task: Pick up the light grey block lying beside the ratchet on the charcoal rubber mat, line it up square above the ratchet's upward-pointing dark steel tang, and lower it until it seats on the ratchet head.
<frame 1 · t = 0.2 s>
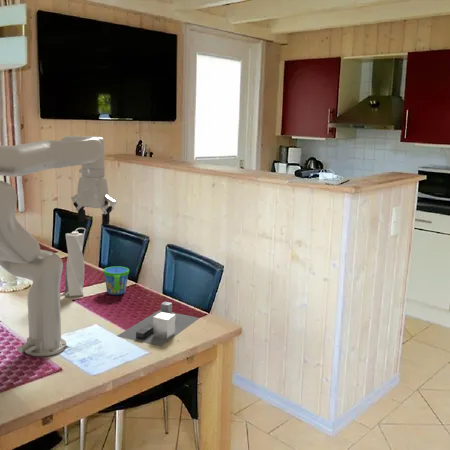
hand: (93, 223, 177), 36 cm above the table, tool pointing down, fingers open, 9 cm apart
tool mat: (160, 328, 181), on the table
skyscraper: (75, 294, 213), on the table
ratchet: (166, 321, 186), point 1 cm above the table, touching tool mat
snack cup: (116, 293, 217), on the table
light grey block: (164, 335, 174), point 1 cm above the table, touching tool mat
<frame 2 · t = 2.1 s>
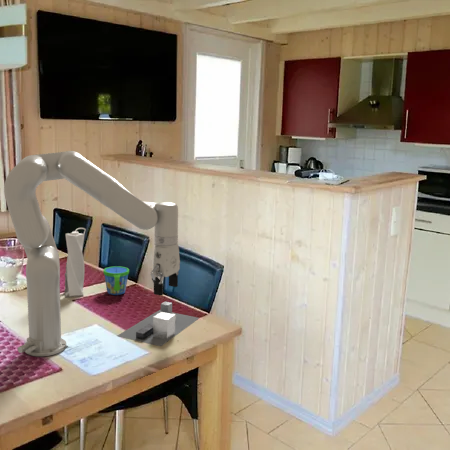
hand: (165, 290, 171), 17 cm above the table, tool pointing down, fingers open, 9 cm apart
nothing on the table moved.
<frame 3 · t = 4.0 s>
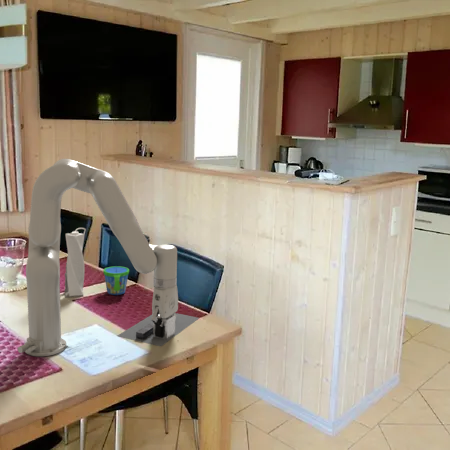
hand: (164, 332, 174), 2 cm above the table, tool pointing down, fingers closed on light grey block, 5 cm apart
light grey block: (164, 335, 174), point 1 cm above the table, touching gripper, tool mat
everything else where it was.
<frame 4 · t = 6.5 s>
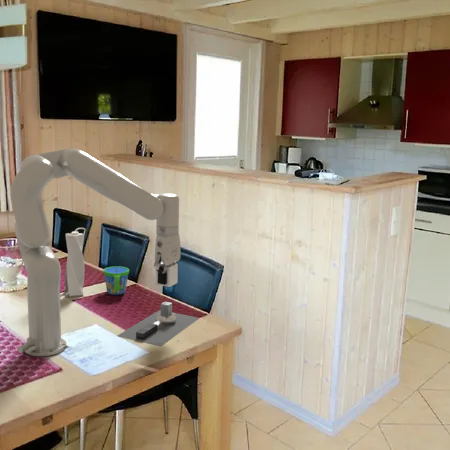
hand: (166, 281, 178), 18 cm above the table, tool pointing down, fingers closed on light grey block, 5 cm apart
light grey block: (166, 283, 178), point 17 cm above the table, touching gripper
everything else where it was.
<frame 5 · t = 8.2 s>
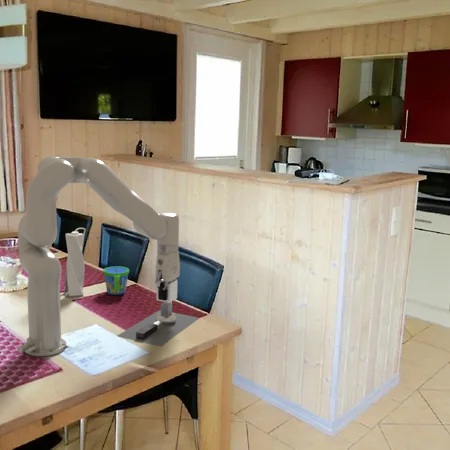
hand: (166, 296, 184), 10 cm above the table, tool pointing down, fingers closed on light grey block, 5 cm apart
light grey block: (166, 299, 184), point 9 cm above the table, touching gripper
everything else where it was.
when the fingers open (6 cm above the table, at t = 9.4 s): light grey block drops 2 cm, resting on ratchet.
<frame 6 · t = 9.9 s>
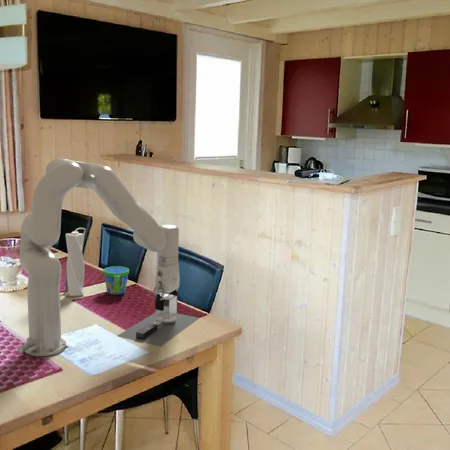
hand: (166, 305, 185), 7 cm above the table, tool pointing down, fingers open, 9 cm apart
ratchet: (166, 321, 186), point 1 cm above the table, touching light grey block, tool mat
light grey block: (166, 315, 185), point 3 cm above the table, touching ratchet
everything else where it was.
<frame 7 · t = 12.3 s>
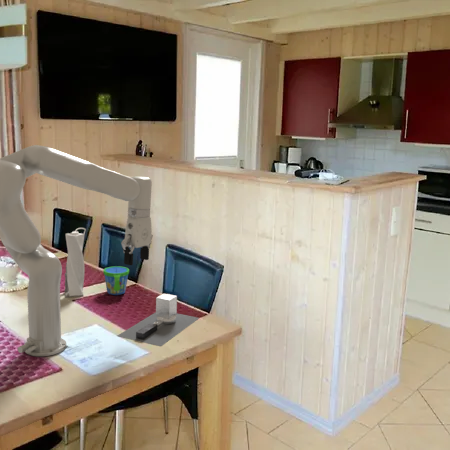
hand: (136, 261, 178), 24 cm above the table, tool pointing down, fingers open, 9 cm apart
nothing on the table moved.
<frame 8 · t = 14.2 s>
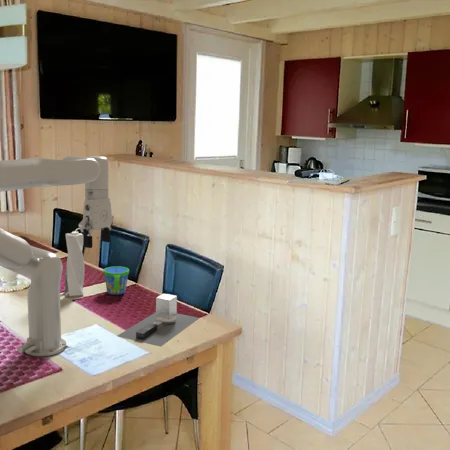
hand: (97, 244, 173), 30 cm above the table, tool pointing down, fingers open, 9 cm apart
nothing on the table moved.
at the end: light grey block 0.0 cm off-centre on the ratchet, point 2.4 cm above the ratchet's base; light grey block tilted 0°; the gripper is holding nothing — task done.
